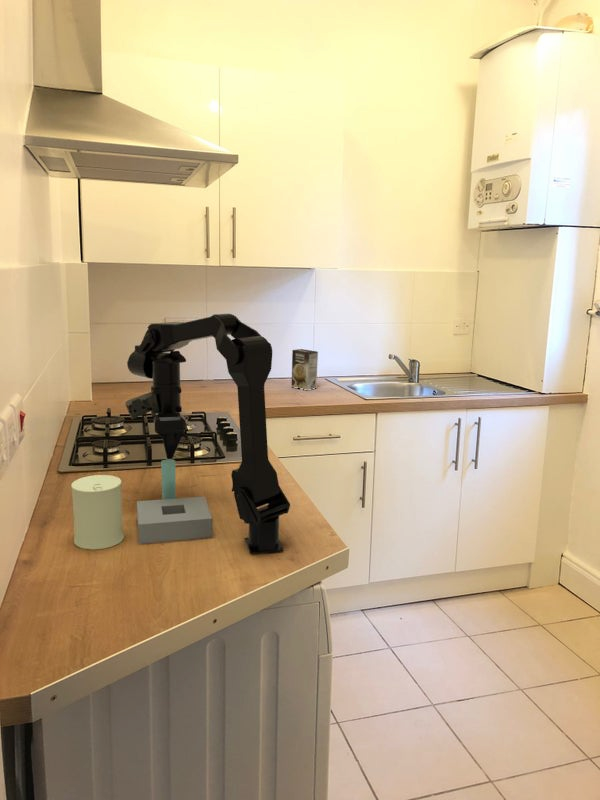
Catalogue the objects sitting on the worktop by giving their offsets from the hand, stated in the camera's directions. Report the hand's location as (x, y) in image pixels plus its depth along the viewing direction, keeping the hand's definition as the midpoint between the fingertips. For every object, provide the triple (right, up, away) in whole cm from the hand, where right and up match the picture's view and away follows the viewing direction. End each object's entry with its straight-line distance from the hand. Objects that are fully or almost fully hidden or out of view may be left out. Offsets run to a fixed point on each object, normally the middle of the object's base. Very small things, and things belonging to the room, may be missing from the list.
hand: (168, 452), depth 140 cm
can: (-10, -16, -15) cm, 24 cm away
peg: (0, -12, +3) cm, 12 cm away
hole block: (+3, -15, -10) cm, 18 cm away
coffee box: (+30, +16, +130) cm, 135 cm away
